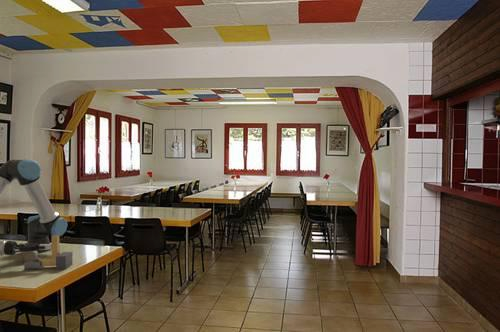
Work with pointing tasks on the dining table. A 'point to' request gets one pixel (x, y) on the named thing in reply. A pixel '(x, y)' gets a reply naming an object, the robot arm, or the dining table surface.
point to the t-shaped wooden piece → (55, 252)
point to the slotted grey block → (63, 260)
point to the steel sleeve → (33, 265)
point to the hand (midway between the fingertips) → (51, 246)
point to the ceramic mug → (31, 255)
